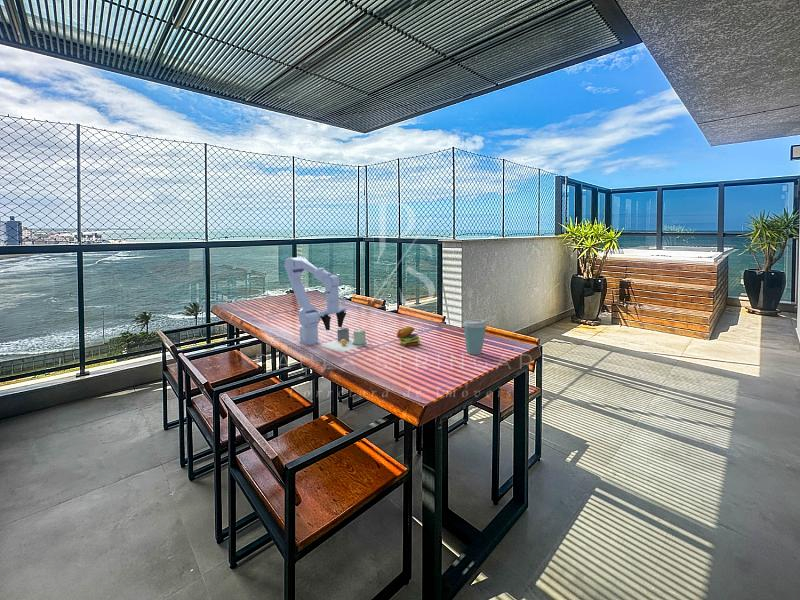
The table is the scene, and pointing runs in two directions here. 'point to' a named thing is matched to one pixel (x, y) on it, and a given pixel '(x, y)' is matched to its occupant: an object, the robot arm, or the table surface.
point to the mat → (339, 347)
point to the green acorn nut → (359, 337)
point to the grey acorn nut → (343, 334)
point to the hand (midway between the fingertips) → (334, 328)
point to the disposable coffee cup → (474, 335)
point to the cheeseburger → (408, 336)
